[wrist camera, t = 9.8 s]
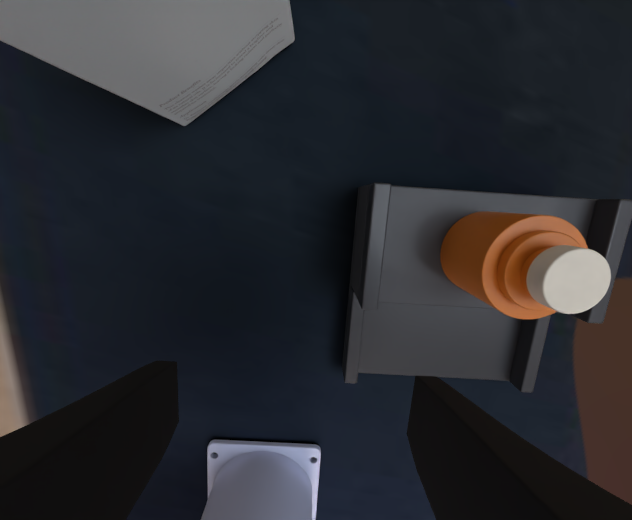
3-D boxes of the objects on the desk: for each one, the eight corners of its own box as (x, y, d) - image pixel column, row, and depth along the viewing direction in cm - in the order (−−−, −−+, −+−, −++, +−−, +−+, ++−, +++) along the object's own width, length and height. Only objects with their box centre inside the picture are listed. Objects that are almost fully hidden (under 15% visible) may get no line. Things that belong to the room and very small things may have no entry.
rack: (514, 376, 20) (574, 429, 16) (341, 367, 20) (350, 418, 15) (553, 200, 18) (637, 200, 13) (357, 187, 18) (374, 182, 13)
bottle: (511, 293, 15) (622, 344, 10) (434, 288, 15) (502, 337, 10) (528, 214, 15) (658, 222, 9) (446, 208, 14) (528, 213, 9)
